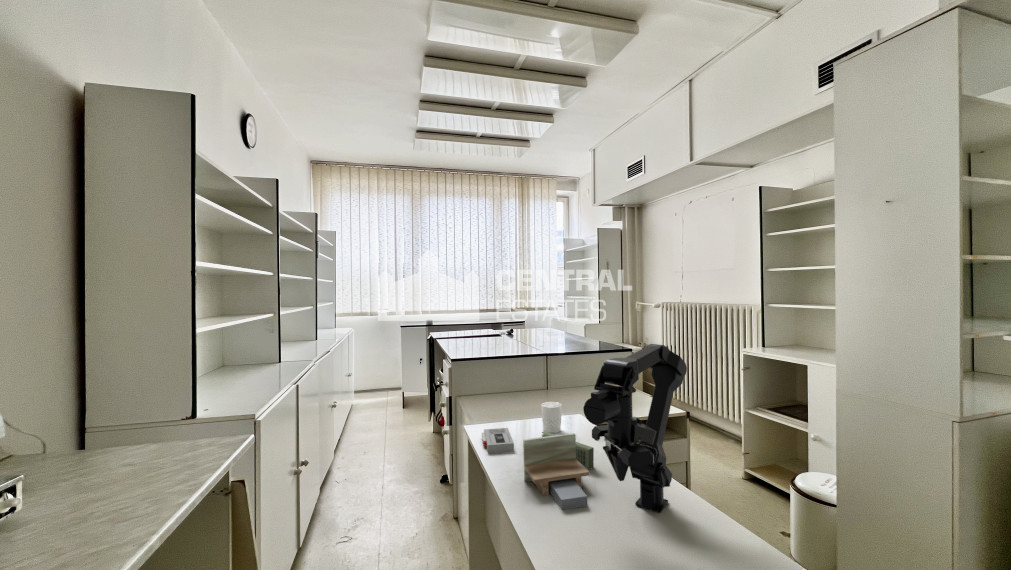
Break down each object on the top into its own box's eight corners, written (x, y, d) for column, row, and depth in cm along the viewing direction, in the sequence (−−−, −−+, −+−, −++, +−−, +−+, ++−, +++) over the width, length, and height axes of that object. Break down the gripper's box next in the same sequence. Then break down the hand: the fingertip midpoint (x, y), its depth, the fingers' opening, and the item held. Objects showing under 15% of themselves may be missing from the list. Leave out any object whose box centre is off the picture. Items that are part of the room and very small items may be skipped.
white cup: (548, 425, 170) (547, 400, 170) (565, 429, 166) (565, 403, 166) (538, 431, 164) (537, 405, 164) (555, 435, 159) (555, 408, 159)
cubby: (589, 488, 118) (588, 445, 118) (535, 496, 114) (534, 452, 114) (574, 472, 128) (574, 433, 128) (524, 480, 124) (523, 439, 124)
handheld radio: (588, 471, 129) (529, 448, 148) (595, 468, 132) (536, 446, 150) (588, 449, 129) (529, 429, 148) (595, 446, 132) (536, 427, 150)
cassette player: (513, 443, 145) (484, 445, 144) (514, 451, 145) (484, 453, 144) (507, 427, 161) (481, 429, 160) (507, 434, 161) (481, 436, 160)
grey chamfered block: (587, 505, 109) (587, 496, 109) (561, 509, 108) (561, 499, 108) (565, 477, 125) (565, 469, 125) (543, 480, 123) (542, 472, 123)
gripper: (674, 423, 92) (676, 494, 92) (629, 400, 110) (630, 459, 111) (629, 428, 90) (630, 502, 90) (590, 404, 108) (591, 465, 108)
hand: (621, 480), depth 100 cm, fingers closed
